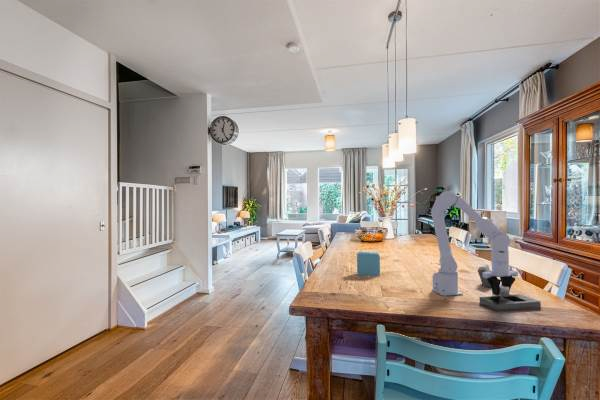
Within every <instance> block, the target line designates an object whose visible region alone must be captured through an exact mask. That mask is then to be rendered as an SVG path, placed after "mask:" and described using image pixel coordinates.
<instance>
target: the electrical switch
mask: <svg viewBox="0 0 600 400" xmlns="http://www.w3.org/2000/svg"><path fill="white" fill-rule="evenodd" d="M488 271H491V269H490V266H489V265H488V263H487V264H484V266H479V267H478V269H477V273H478V276H479V279H480V282H481V284H482V287H488V288H489V287H490V288H491V286H490V284H489V282H488V280H487V279H486V278H484V277H483V273H482V272H488Z"/></svg>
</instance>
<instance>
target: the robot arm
mask: <svg viewBox="0 0 600 400" xmlns="http://www.w3.org/2000/svg"><path fill="white" fill-rule="evenodd" d="M450 207H455V208H457V209H460V210H461V211H463V213H464V214H466V215H467V216H468V217H469V218H470V219H471V220H472V221H473V222H474V223H475V225H474V226H475V228H476V229H477V230H479V232H480V233H481V234H483V235H484V237H486V238H487V239H489V241H490V243H491V249H490V250H491V270H490V271H488V272H482V273H483V277H484V278H486V279H487V280H488V282H489V284H490V286H491V287H490V286H489V287H490V289H491V292H493V294H494V295H496V296H498V295H499V286H500V284H502V285H505V286H508V287H509V292H510V290H511V289H512V288H511V287H512V286H513V284H514V283H515V281H516V277H519V272H518V271H517V270H510V264H509V263H510V262H509V261H510V257H509V255H510V251H509V246H510V244H511V241H512V240H511V239H510V236H509V235H508V234H506V233H504V231H503V229H502V228H501V227H499V226H497V225H496V224H495V223H494V220H493V219H492V218H489V217H488V216H487V217H485V216H481V215H480V214H479V213H478V212H477V211H476V210H475V209H474V208H473V207H472V206H471V205H470V204H469V203H467V202H466V200H465V199H463V198H461V196H458V195H457V194H456V193H455V192H453V191H451V190H446V191H443V192H441V193H440V194H439V195H438V196H437V197H436V199H435V201H434V203H433V205H432V207H431V209H430V213H431V218H432V223H433V227H434V231H435V236H436V241H437V246H438V249H439V255H440V257H439V265H440V268H439V269H438V271H437V272H434V273H433V274H432V288H431V290H432V291H433V292H435V293H437V294H438V295H441V296H443V297H444V296H446V297H447V296H456V295H457V296H458V295H459V296H460V295H464V294H463V292H461V291H459V282H458V281H459V279H458V278H459V277H458V276H459V275H458V273H459V272H458V264H457V262H456V260H455V258H454V257H453V256H454V255H453V252H452V249H451V244H450V240H449V236H448V232H447V231H448V230H447V226H446V223H445V222H446V221H445V217H444V213H445V212H446V211H447V210H448V208H450Z"/></svg>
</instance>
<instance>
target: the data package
mask: <svg viewBox="0 0 600 400" xmlns="http://www.w3.org/2000/svg"><path fill="white" fill-rule="evenodd" d="M356 273H357V275H358V276H362V275H363V276H366V277H368V276H370V277H379V276H380V274H381V256H380V253H379V252H377V251H376V252H375V251H374V252H370V251H359V252H357V253H356Z"/></svg>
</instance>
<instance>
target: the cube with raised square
mask: <svg viewBox="0 0 600 400" xmlns="http://www.w3.org/2000/svg"><path fill="white" fill-rule="evenodd" d="M491 292H492V291H491ZM491 294H492V295H491V296H496V295H494V294H493V292H492V293H491ZM503 295H510V291H509V287H508V286H505V285H502V283H500V286H499V295H498V296H503Z"/></svg>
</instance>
